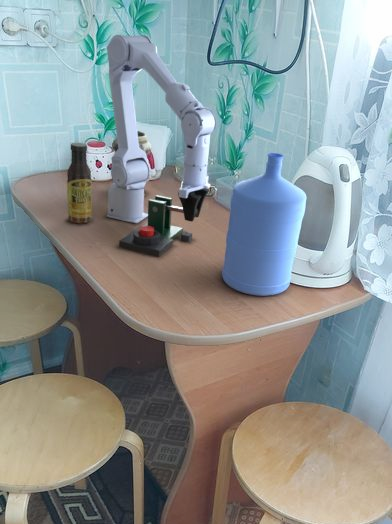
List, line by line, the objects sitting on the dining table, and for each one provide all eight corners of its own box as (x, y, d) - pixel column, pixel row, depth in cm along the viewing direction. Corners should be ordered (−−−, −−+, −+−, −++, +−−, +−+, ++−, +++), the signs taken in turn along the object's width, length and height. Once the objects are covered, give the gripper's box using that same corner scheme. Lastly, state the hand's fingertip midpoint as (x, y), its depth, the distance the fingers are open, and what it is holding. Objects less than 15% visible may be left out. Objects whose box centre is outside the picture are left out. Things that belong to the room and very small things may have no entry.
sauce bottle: (71, 225, 137) (67, 147, 125) (65, 217, 141) (60, 141, 130) (95, 223, 139) (93, 146, 128) (88, 215, 144) (85, 140, 133)
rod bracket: (182, 232, 139) (185, 198, 134) (168, 243, 132) (170, 208, 127) (149, 224, 142) (150, 191, 137) (134, 235, 135) (134, 200, 130)
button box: (119, 247, 128) (119, 233, 126) (134, 236, 134) (134, 223, 132) (159, 257, 125) (159, 243, 123) (172, 245, 131) (173, 232, 129)
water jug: (271, 305, 109) (297, 171, 94) (208, 282, 116) (222, 153, 100) (299, 279, 121) (326, 156, 105) (241, 260, 127) (258, 141, 111)
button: (136, 235, 127) (136, 228, 126) (143, 231, 129) (143, 224, 128) (149, 238, 126) (150, 232, 125) (156, 234, 128) (156, 227, 127)
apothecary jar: (148, 200, 158) (150, 139, 148) (108, 197, 158) (108, 135, 147) (151, 188, 168) (153, 130, 158) (114, 185, 168) (114, 126, 157)
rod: (199, 217, 132) (200, 205, 130) (195, 220, 129) (195, 209, 128) (157, 209, 135) (157, 197, 133) (152, 212, 133) (152, 200, 131)
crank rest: (180, 240, 134) (180, 234, 133) (183, 237, 136) (183, 231, 135) (188, 242, 134) (189, 236, 133) (191, 239, 135) (192, 233, 134)
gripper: (200, 173, 117) (195, 230, 124) (221, 160, 128) (216, 213, 136) (171, 168, 119) (168, 224, 126) (195, 155, 130) (191, 208, 138)
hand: (191, 218), depth 131 cm, fingers closed on rod, 3 cm apart
